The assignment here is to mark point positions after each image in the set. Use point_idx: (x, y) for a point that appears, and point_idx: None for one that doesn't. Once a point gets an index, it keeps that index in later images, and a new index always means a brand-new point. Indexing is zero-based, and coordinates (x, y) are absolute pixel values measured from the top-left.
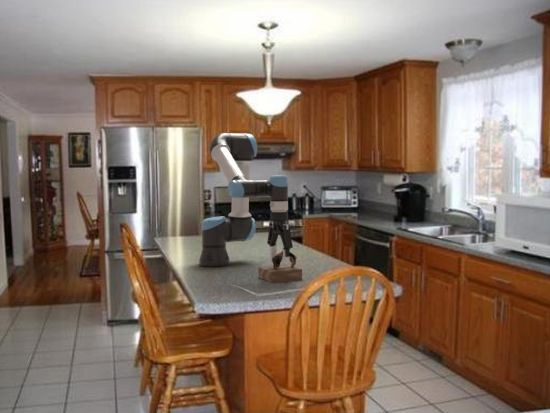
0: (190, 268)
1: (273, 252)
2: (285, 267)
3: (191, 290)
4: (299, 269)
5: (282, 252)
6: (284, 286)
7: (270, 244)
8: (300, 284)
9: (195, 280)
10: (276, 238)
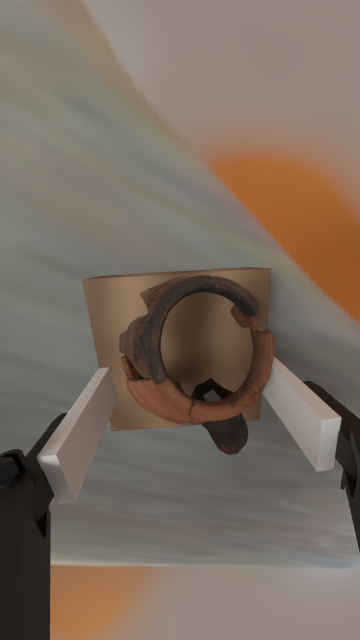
0: None
1: (94, 430)
2: (173, 326)
3: (228, 565)
4: (268, 284)
5: (227, 416)
6: (325, 378)
7: (41, 531)
8: (331, 317)
9: (101, 546)
10: (21, 628)
